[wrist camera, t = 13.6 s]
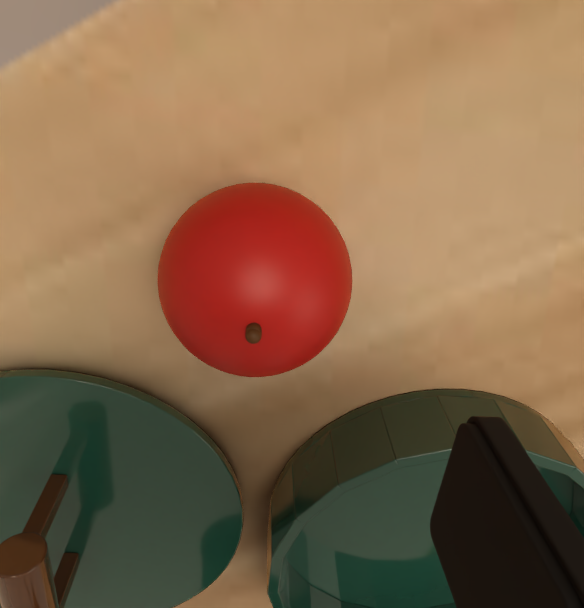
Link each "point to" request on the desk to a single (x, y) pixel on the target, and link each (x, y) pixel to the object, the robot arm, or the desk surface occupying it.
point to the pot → (389, 499)
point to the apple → (254, 279)
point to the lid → (107, 496)
